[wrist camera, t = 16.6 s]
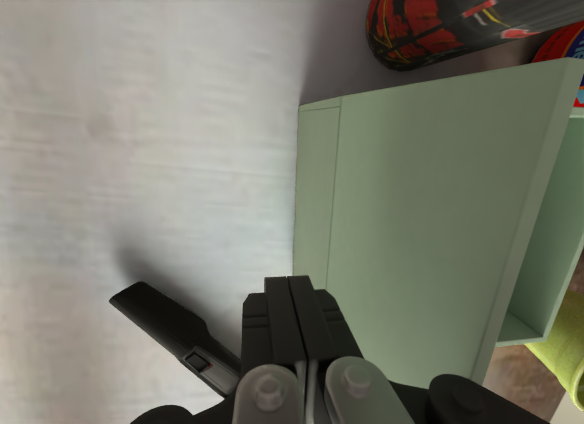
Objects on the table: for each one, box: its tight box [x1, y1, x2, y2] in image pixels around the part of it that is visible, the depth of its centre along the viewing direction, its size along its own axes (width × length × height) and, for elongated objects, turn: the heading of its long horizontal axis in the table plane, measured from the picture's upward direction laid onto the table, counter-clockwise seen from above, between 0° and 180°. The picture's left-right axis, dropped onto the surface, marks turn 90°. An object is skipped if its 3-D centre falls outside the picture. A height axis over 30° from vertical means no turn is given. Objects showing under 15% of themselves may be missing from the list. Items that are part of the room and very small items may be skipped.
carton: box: [293, 96, 584, 347], centre depth 19 cm, size 15×14×9 cm
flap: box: [326, 57, 584, 389], centre depth 9 cm, size 7×14×1 cm
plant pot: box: [525, 289, 584, 412], centre depth 25 cm, size 9×9×9 cm
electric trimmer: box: [109, 282, 241, 399], centre depth 23 cm, size 4×16×3 cm, turn 36°
